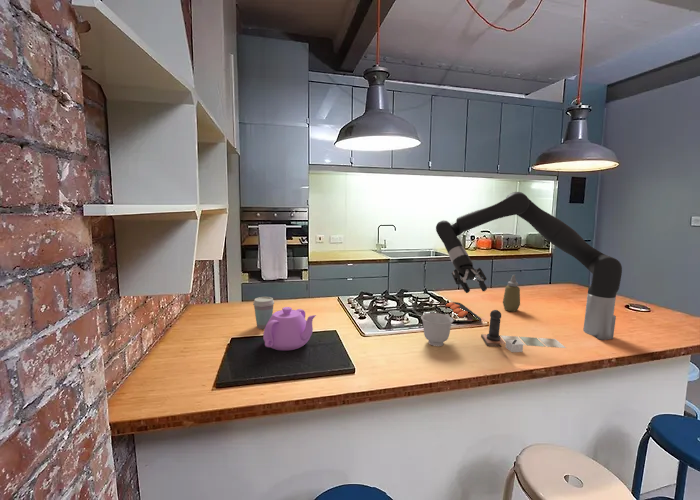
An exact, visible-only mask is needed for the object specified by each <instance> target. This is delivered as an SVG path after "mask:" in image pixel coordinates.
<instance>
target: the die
mask: <svg viewBox="0 0 700 500" xmlns="http://www.w3.org/2000/svg"><path fill="white" fill-rule="evenodd" d="M505 343H506V344H505V349H507V350H508V351H509V352H511V353H523V349H524V345H523V344H522V343H521V342H519V341H517V340H506V342H505Z"/></svg>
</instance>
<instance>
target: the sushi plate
mask: <svg viewBox="0 0 700 500" xmlns="http://www.w3.org/2000/svg"><path fill="white" fill-rule="evenodd" d="M439 302H440V301H437V302H435V303H439ZM448 302H449V303H447V304H446V305H445V306H446V307H450V308H451V309H453V312H454V313H456V314H458V315H457V316H458V317H459V318H464V317H465V316H466V315H467V314H468V312H470V313H471V314H472V315H474V316H475V317H476V318H478V319H479V321H480V322H482V321H483V320H482V318H481V317H479V315H477V314H476V313H474V312H473V311H472V310H470V308H468V307H466V306H465V305H464V304H463V303H461V302H455V301H448ZM436 306H437V305H435V307H436ZM460 308H461V309H460ZM462 309H463V310H465V311H463V310H462ZM426 312H428V311H427V310H425V312H424V313H426ZM429 312H430V313H435V312H433V311H429ZM455 321H456V320H454V322H455ZM456 323H473V322H472V321H457V322H456Z"/></svg>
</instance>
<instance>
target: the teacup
mask: <svg viewBox="0 0 700 500" xmlns="http://www.w3.org/2000/svg"><path fill="white" fill-rule="evenodd" d="M439 313H440V312H436V313H435V312H434V313H423V314H422V315H421V316H420V319H421V320H422V326H423V335H424V338H425V339H426V340H427V341H428V344H429V345H431V346H432V347H433V346H434V347H443V345H444V343H445V342H446V341H447V340H448V339H449V336H450V333H451V327H452V323H453V322H455V321H454V319H453V318H452V317H450V316H449V314H445V315H444V313H442V314H439Z"/></svg>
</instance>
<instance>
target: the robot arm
mask: <svg viewBox="0 0 700 500" xmlns="http://www.w3.org/2000/svg"><path fill="white" fill-rule="evenodd" d="M515 215H516V216H518V217H519V218H521V219H523V220H524V221H526V222H527V223H528V224H529V225H530V226H531V227H532V228H533V229H535V230H536V232H537V233H538V234H540V236H542V237H543V238H544V239H545V240H546V241H548V242H549V243H550V244H551V245H554V247H556V248H557V249H559V250H561V251H563V252H565V253H566V254H567V255H570V256H572V258H574V259H576V260H577V261H578V262H579V263H581V265H583V267H584V268H586V269H587V270H588V272H590V273H591V274H592V281H591V284H590V286H588V287H587V294H586V295H587V296H586V305H585V311H584V312H585V314H584V321H583V329H582V330H583V331H582V332H584V333H585V334H586V335H590V336H592V337H594V338H595V339H596V340H605V341H606V340H607V341H608V340H613V339H614V335H615V326H616V320H617V316H616V315H615V306H616V300H617V299H616V298H617V293H618V291H619V290H620V287H621V286H620V285H621V280H622V279H621V278H622V273H623V266H622V264H621V262H620V261H619V260H618V259H616V258H615V257H612V256H610V255H607V254H605V253H603V252H601V251H599V250H597V248H595V247H592V245H590V244H588V243H587V242H586V240H585V239H584V238H583V237H582V236H581V235H580V234H579V233H578V232H577V231H576V230H575V229H573V228H572V227H571V226H569V225H568V224H566V222H564V221H562V220H561V219H559V218H557V217H556V216H554V215H552V214H551V213H548V212H547V211H545V210H543V209H541V208H540V207H539V206H538V205H536V203H534V202H533V201H532V200H531V199H530V198H529V197H528V196H527V195H526V194H525V193H523V192H520V191H514V192H513V191H512V192H510V193H508V195H507V196H505V198H504V199H503V200H502V199H501V200H500V201H499V202H497V203H495V204H493V205H489V206H487V207H484V208H480V209H476V210H474V211H471V212H468V213H465V214H463V215H461V216H460V215H459V217H456V220H455V222H454V223H450V222H449V221H448V220H444V219H443V220H440V221H438V222H437V224H436V226H435V232H436V234H437V236H438V238H439V239H440V240H441V242H442V243H443V245H444V247H445V250H446V252H447V253H448V257H449V259H450V261H451V263H452V265H453V267H454V270H453V271H452V272H451V275H452V277H453V280H454V282H455V284H456V285H460V286H461V288H462V289H463V291H464V293H465V294H468V293H470V291H471V289H470V287H469V285H468V283H467V281H469V280H471V281H474V282H476V283H478V286H479V287H480V289H481V291H482V292H486V291H487V290H488V289H487V288H488V287H487V285H486V284H485V282H486V281H487V276H486V275H485V273H484V271H483V270H482V268H481V267H478V268H477V269H475V267H474V264H473V261H472V259H471V258H470V255H469V254H468V251H467V250H466V249H465V247H464V246H463V244H462V241H461V240H460V239H459V238H458V237H459V236H460V235H461V234H463V233H465V232H466V231H469V230H472V229H475V228H477V227H480V226H482V225H484V224H487V223H490V222H492V221H495V220H498V219H499V220H500V219H503V218H506V217H511V216H515Z"/></svg>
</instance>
